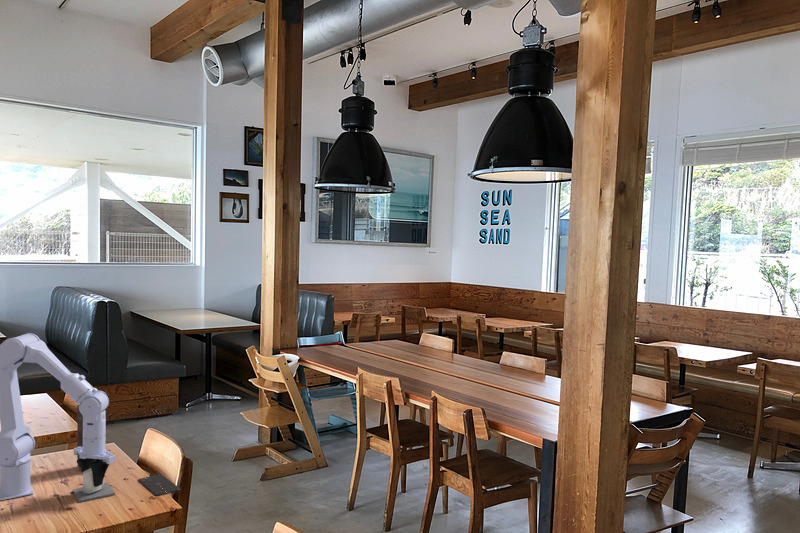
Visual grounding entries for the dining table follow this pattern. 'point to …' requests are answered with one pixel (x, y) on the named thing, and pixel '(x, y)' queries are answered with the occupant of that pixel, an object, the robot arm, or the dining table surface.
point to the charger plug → (90, 482)
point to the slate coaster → (95, 495)
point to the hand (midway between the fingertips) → (93, 484)
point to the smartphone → (158, 485)
